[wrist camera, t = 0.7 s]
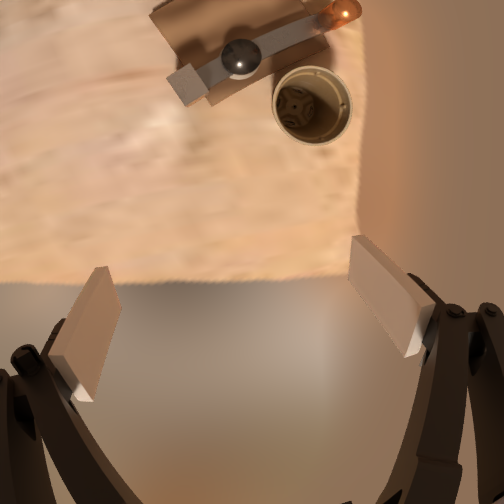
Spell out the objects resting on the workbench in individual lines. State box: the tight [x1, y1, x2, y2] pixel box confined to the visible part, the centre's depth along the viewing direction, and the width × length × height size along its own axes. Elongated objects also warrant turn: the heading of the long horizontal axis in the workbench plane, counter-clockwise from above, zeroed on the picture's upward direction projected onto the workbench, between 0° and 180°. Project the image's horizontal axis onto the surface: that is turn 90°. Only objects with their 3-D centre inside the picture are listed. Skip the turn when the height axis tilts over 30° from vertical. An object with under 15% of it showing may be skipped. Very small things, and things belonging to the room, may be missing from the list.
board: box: [149, 0, 330, 106], centre depth 30 cm, size 16×18×2 cm
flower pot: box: [272, 65, 353, 146], centre depth 33 cm, size 9×9×9 cm
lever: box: [166, 0, 362, 107], centre depth 27 cm, size 23×5×8 cm, turn 121°
